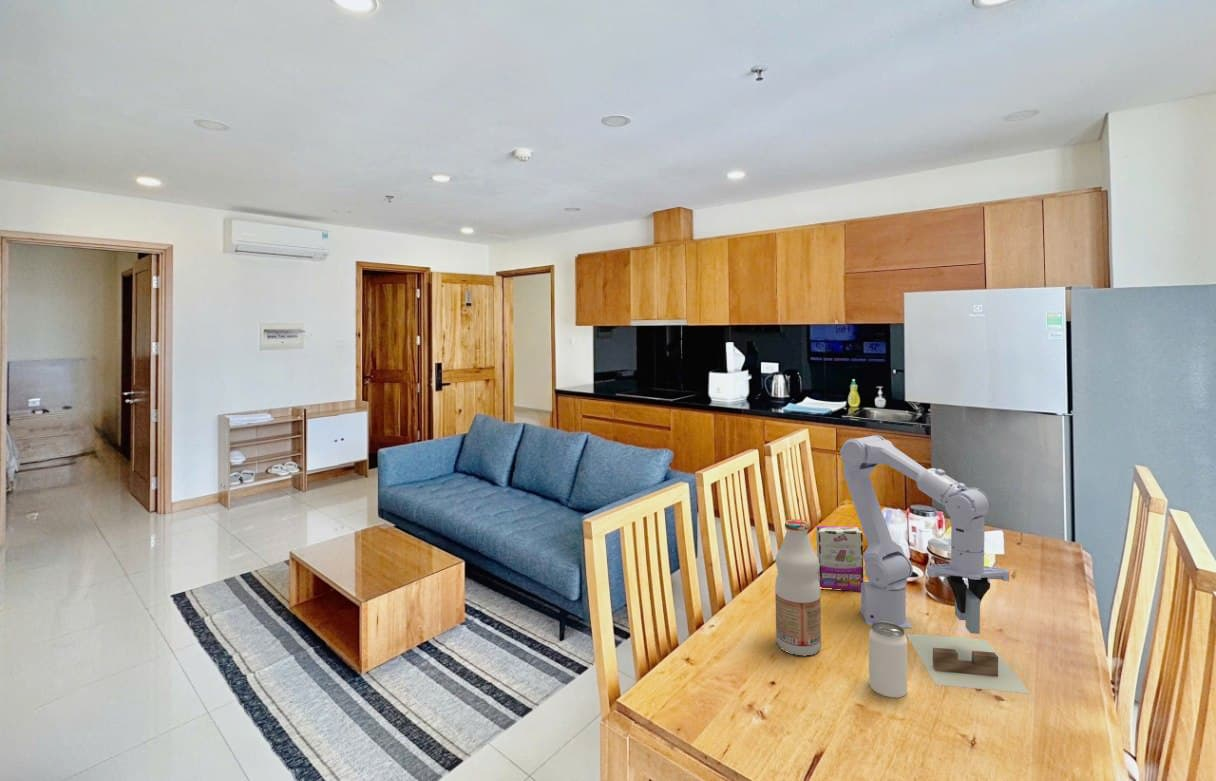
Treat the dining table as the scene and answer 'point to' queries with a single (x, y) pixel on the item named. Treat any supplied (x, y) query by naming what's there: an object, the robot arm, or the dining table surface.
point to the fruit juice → (798, 592)
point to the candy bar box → (840, 557)
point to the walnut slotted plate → (965, 662)
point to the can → (888, 659)
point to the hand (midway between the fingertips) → (966, 611)
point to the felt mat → (964, 649)
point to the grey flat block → (970, 612)
